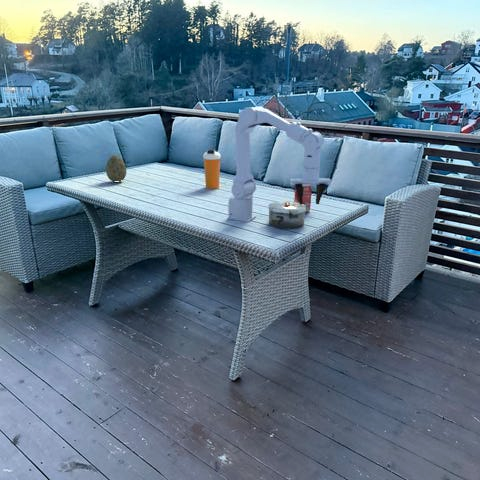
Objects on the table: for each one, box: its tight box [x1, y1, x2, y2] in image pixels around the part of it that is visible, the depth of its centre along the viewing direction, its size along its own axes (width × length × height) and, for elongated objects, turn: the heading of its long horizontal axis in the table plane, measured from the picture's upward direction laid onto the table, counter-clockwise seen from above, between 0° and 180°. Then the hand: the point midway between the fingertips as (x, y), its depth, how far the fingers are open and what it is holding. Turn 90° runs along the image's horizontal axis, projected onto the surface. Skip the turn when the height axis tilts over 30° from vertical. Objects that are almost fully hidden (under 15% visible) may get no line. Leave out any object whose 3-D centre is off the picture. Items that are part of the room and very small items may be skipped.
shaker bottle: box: [202, 148, 221, 190], centre depth 215 cm, size 9×9×20 cm
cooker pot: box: [268, 209, 306, 230], centre depth 160 cm, size 14×19×6 cm
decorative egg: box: [105, 154, 127, 182], centre depth 226 cm, size 11×11×15 cm
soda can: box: [293, 185, 312, 214], centre depth 177 cm, size 7×7×12 cm
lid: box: [267, 200, 306, 218], centre depth 158 cm, size 15×19×2 cm
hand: (309, 203), depth 152 cm, fingers open, 6 cm apart
